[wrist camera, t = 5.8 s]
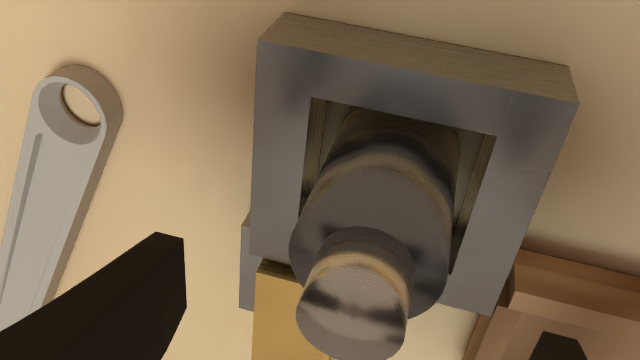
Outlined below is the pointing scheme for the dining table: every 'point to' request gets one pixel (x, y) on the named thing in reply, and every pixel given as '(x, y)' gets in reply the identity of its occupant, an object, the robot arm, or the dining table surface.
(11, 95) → the dining table surface
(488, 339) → the brown square tray
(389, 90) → the socket block
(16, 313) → the adjustable wrench
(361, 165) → the grey knob
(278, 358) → the bar
